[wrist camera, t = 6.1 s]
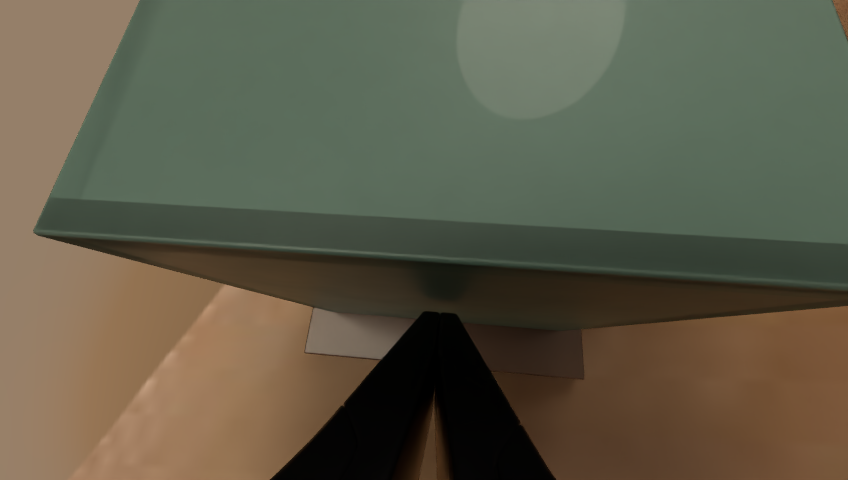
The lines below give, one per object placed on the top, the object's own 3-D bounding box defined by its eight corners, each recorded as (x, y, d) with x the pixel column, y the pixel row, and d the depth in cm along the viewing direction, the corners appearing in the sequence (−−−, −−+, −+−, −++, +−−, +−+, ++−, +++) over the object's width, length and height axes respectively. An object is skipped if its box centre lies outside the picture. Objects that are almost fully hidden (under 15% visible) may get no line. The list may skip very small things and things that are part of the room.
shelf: (562, 331, 15) (952, 298, 3) (329, 311, 16) (30, 234, 4) (557, 219, 16) (814, -57, 5) (346, 207, 17) (160, -50, 6)
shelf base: (576, 378, 15) (585, 379, 14) (311, 352, 16) (303, 352, 16) (565, 206, 18) (572, 198, 17) (341, 194, 19) (336, 186, 18)
